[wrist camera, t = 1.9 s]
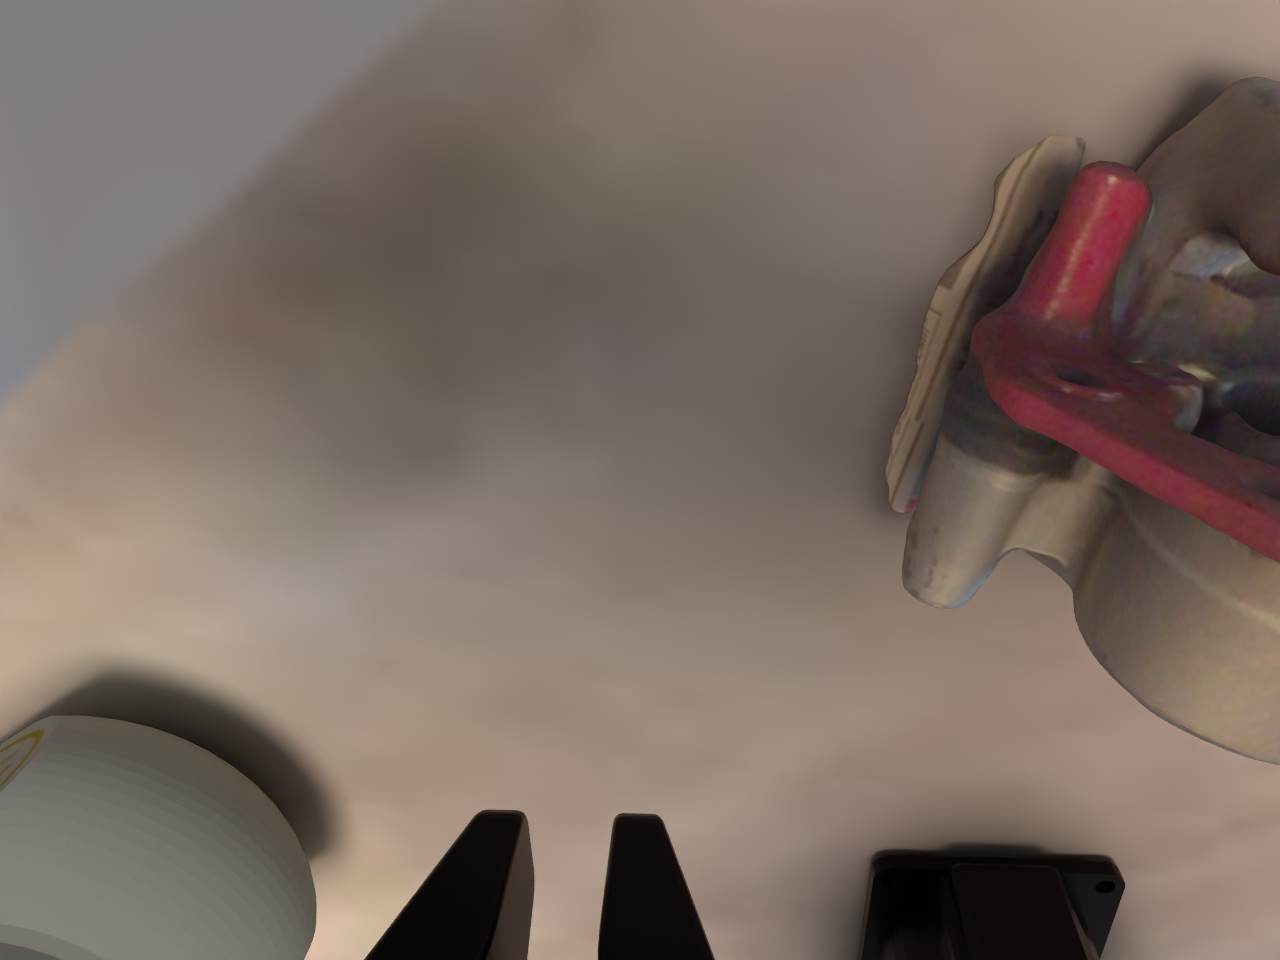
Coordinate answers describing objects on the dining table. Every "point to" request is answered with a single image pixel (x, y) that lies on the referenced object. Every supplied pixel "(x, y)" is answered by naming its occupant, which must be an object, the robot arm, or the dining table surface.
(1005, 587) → the dining table surface
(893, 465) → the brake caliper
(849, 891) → the dining table surface
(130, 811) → the air freshener
